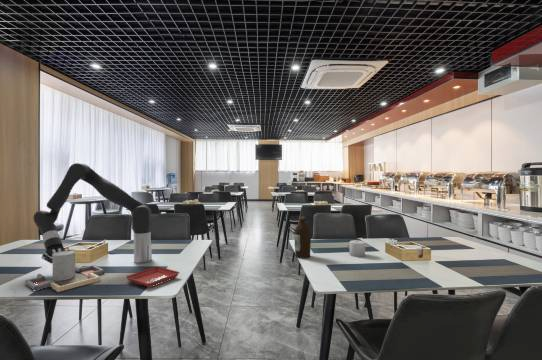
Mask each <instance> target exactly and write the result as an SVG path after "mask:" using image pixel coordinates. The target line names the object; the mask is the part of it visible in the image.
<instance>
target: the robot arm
mask: <svg viewBox="0 0 542 360" xmlns="http://www.w3.org/2000/svg"><path fill="white" fill-rule="evenodd" d="M64 175H65V176H64V177H63V180H62V181H61V183H60V185H58V188H57V189H56V191H55V192H54V193H53V194H52V196H51V198H50V199H49V200H48V202H47V203H46V207H47V208H48V209H50V211H46V210H42V209H41V210H37V211H35V213H34V215H33V218H32V219H33V222H34V224H35V225H36V227H37V228H38V229H39V230H40V234H41V235H42V242H43V245H44V248H45V253H43V254H42V255H41V259H42V260H43V261H46V262H48V263H50V264H52V254H54V253H56V252H61V251H71V249H66V247H64V245H63V244H64V243H63V241H62V238H61V236H60V234H59V232H58V231H59V230H58V229H57V225H56V224H54V223H56V221H57V219H58V218H59V214H60V211H61V209H62V208H63V206H64V205H65V203H66V202H67V200H68V199H69V197H70V194H71V192H72V189H73V188H74V186H75V185H76V184H77V183H78V182H79V181H80V180H81V181H83V182H85V183H88V184H89V185H90V186H92V187H93V188H94V189H95V190H96V192H98V193H99V195H100V196H102V197H103V198H105V199H106V200H108V201H109V202H111V203H113V204H115V205H117V206H120V207H122V208H124V209H126V210H128V211H129V212H131V213H132V219H131V220H132V229H133V262H134V263H137V264H138V263H139V264H141V263H142V264H143V263H147V262H150V261H151V260H152V259H153V257H152V255H153V254H152V252H153V251H152V250H153V249H152V248H153V247H152V245H153V244H152V243H151V230H152V229H151V225H150V218H151V216H152V210H151V208H150V206H148V205H146V204H144V203H142V202H141V201H138V200H137V199H135V198H134V197H133V196H131V195H130V194H129V193H127V192H126V191H124V190H123V189H122V188H120V187H119V186H118V185H116V184H114V183H113V182H111V181H110V180H108V179H106V178H104V177H103V176H101V175H100V174H98V173H97V172H96V171H95V170H94V169H93V168H91V167H90V166H89V165H87V164H85V163H80V162H75V163H72V164H71V165H70V166H69V167H68V169H67V171H66V173H65V174H64Z"/></svg>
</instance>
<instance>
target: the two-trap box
mask: <svg viewBox="0 0 542 360" xmlns="http://www.w3.org/2000/svg"><path fill="white" fill-rule="evenodd" d="M75 272H77V273H81V274H83V275H84V276H86V277H88V278H87V279H82V280H77V281H75V282H71V283H67V284H62V285H59V284H57V283H55V281H50V282H47V281H46V276H45V275H43V274H41V273H37V274H36V277H34V278H29V279H25V284H26V286H27V285H28V286H29V287H31V288H32V289H33V290H37V291H39V290H38V289H41V290H44V289H43V288H45V289H48V288H47V287H49V288H51V287H52V288H51V289H53V290H54V291H56V293H59V292H64V291H67V290H72V289H74V288H78V287H82V286H86V285H90V284H93V283H97V282H100V281H101V276H100V275H104V274H105V269H104V268H101V267H98V266H96V265H94V264H93V265H88V266H84V267H83V266H82V267H80V266H78V265H75ZM36 282H37V283H36ZM34 283H35V284H38V285H35V284H34ZM28 286H27V287H28ZM29 287H28V288H29ZM31 288H30V289H31ZM32 289H31V290H32ZM33 290H32V291H33Z"/></svg>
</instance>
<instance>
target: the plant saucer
mask: <svg viewBox="0 0 542 360" xmlns="http://www.w3.org/2000/svg"><path fill="white" fill-rule="evenodd" d="M163 275H165V276H167V277H165V278H162V279H160V280H157V281H154V282H151V283H146V282H147V281H149V282H150V280H151V279H152V278H153V279H154V278H158V277H161V276H163ZM178 275H180V271H177V270H173V269H169V268H165V267H161V266H154V267H151V268H147V269H145V270H141V271H138V272H135V273H132V274H129V275H126V276H125V278H126V279H127V280H128V281H130V283H133V282H134V284H136V283H137V284H136V285H139V284H141V285H140V286H142V285H144V286H143V287H145V286H147V287H146V288H148V287H150V286H153V285H156V284H158V283H161V282H164V281H167V280H169V279H172V278H174V279H176V278H177V276H178ZM172 280H173V279H172ZM169 281H170V280H169ZM167 282H168V281H167ZM164 283H165V282H164ZM161 284H162V283H161ZM156 286H157V285H156ZM153 287H154V286H153ZM150 288H151V287H150Z"/></svg>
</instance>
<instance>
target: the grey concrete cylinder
mask: <svg viewBox="0 0 542 360" xmlns="http://www.w3.org/2000/svg"><path fill="white" fill-rule="evenodd" d="M51 265H52V281H54V282H55V281H56V282H57V281H65V280H70V279H73V278H75V277H76V271H75V266H76V251H75V250H70V251H61V252H56V253H54V254H52V263H51Z"/></svg>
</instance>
